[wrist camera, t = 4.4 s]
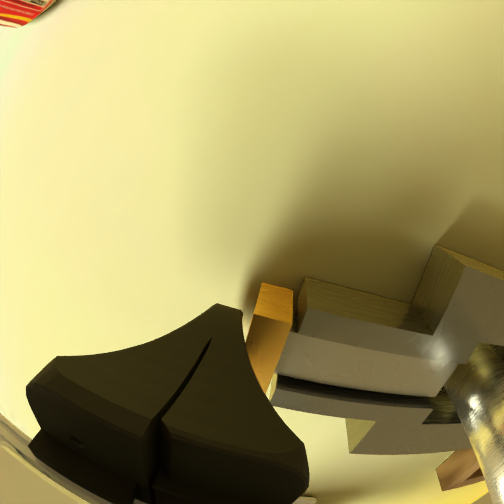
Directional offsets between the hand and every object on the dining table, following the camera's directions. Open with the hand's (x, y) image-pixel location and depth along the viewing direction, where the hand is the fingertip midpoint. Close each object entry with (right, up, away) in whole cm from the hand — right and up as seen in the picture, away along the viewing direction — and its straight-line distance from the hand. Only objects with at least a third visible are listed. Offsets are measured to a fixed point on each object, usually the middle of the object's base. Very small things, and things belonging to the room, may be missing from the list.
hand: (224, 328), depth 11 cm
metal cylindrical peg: (+12, -3, +1) cm, 12 cm away
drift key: (+5, -1, +1) cm, 5 cm away
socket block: (+10, -2, +1) cm, 10 cm away
